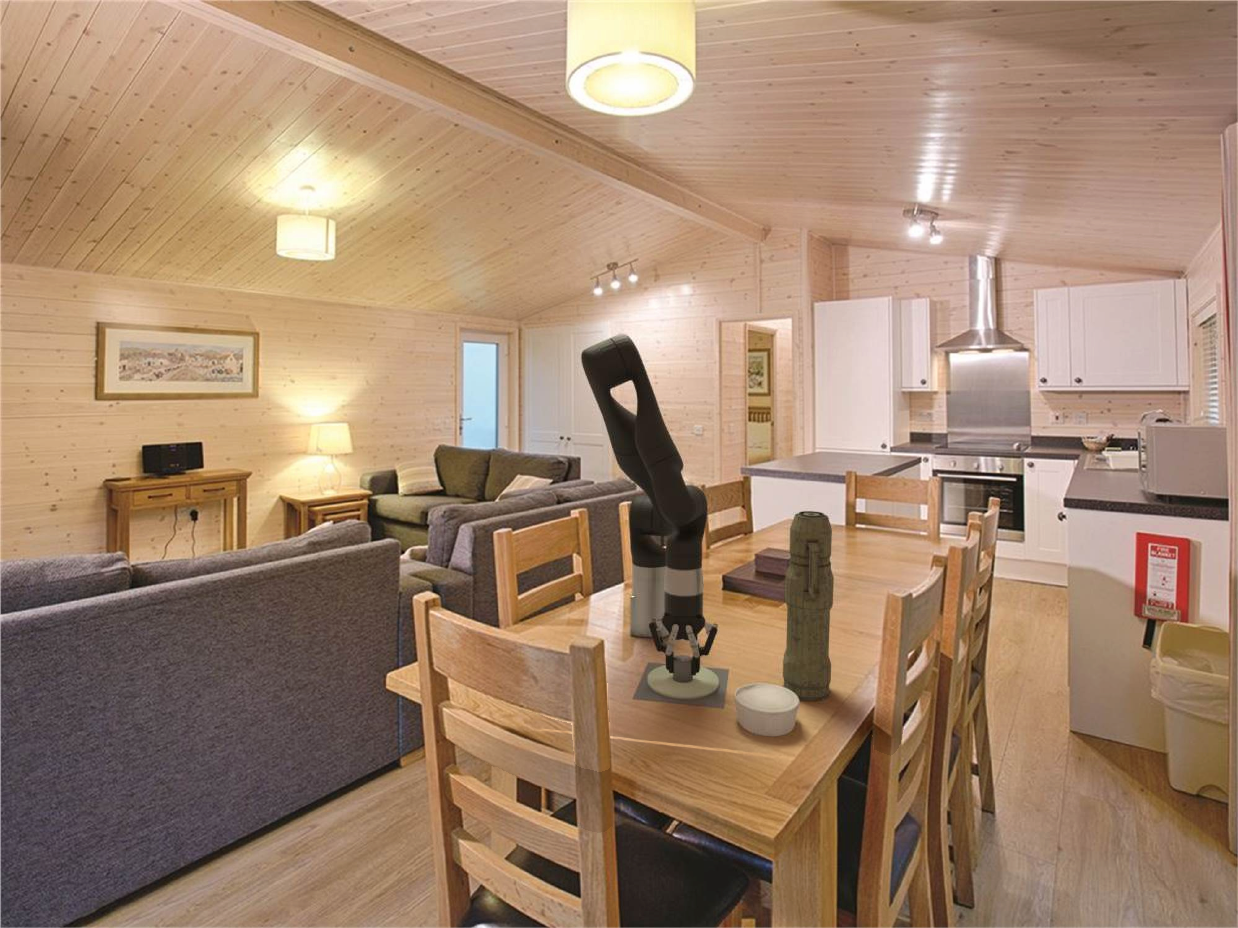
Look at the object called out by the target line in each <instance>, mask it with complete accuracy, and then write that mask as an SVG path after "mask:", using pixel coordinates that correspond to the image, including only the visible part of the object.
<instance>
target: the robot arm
mask: <svg viewBox="0 0 1238 928" xmlns="http://www.w3.org/2000/svg"><path fill="white" fill-rule="evenodd" d="M580 358H581V359H580V360H581V365H582V368H583V372H584V374H585V377H586V379H587V382H588V385H589V387H590V389H591V391H592V394H593V396H594V398H595V401H596V403H597V407H598V409H599V411H600V413H601V415H602V418H603V421H604V425H605V428H606V431H607V435H608V438H609V441H610V445H611V448H612V451H613V454H614V457H615V460H616V463H617V465H618V466H619V468H620V470H621V471H622V472H623V473H624V474H625V475H626V476H627V477H628V478H629V480H631V481H632V482H633V483H634V484H636V486H638V487H639V488H640V489H641V490H642V491H643V492H644V493H645V494H646V495H637V496H635V497H634V498H633V499H632V501H631V503H630V506H629V511H628V523H629V524H628V526H629V544H630V545H629V547H630V553H631V554H630V555H631V557H632V558H631V562H632V564H631V569H632V570H631V572H632V573H631V575H632V576H631V585H632V586H631V587H632V589H631V590H632V591H631V592H632V593H631V594H630V597H629V599H630V600H629V602H630V604H629V607H630V608H629V609H630V610H629V611H630V612H629V615H630V616H629V618H630V620H629V621H630V623H629V627H630V628H629V630H630V631H629V633H630V635H631V636H636V637H638V638H642V639H651V640H652V639H653V642H654V645H655V649H656V651H657V652H662V653H664V655H665V664H666V669H667V670H669V673H673V658H674V657H675V651H674V648H675V644H676V641H677V640H678V641H680V640H683V641H688V642H689V645H690V648H691V650H692V654H693V655H692V656H691V657H692V675H695V676H696V673H699V671H700V666H701V657H703V656H706V657H707V656H709V655H710V651H711V650H712V646H713V644H714V641H715V638H716V636H717V633H718V629H719V625H718V623H710V622H707V621H706V618H705V617H704V585H705V584H704V574H703V573H704V572H703V540H704V536H705V530H706V524H707V519H708V509H709V508H708V501H707V497H706V495H705V492H703V490H702V489H701V488H700V487H698V486H696V485H692V484H687V485H686V482H685V480H684V477H683V474H682V471H683V469H684V462H683V459H682V456H681V454H680V452H679V450H678V448H677V446H676V444H675V442H674V439H673V438H672V436H671V435H670V432H669V429H668V427H667V425H666V423H665V421H664V418H663V416H662V413H661V409H660V406H659V404H658V400H657V397H656V394H655V392H654V389H653V386H652V383H651V381H650V379H649V375H648V373H647V369H646V366H645V365H644V362H643V359H642V357H641V354H640V352H639V349H638V348H637V346H636V344H635V343H634V341H633V340H632V338H631V337H630V336H629V335H627V333H620V334H616V335H614V336H612V337H610V338H607V339H605V340H604V339H603V340H601V341H599V342H598V343H596V344H593V345H590V346H588V347H586V348H585V349H583V350H582V352H581V356H580ZM630 381H631V382H632V383H633V386H634V390H635V394H636V401H637V402H636V413H634V412H631V411H630V410H628V409H627V408H626V407H625V406H623V405H622V404H620V402H618V401H617V400H616V398H614V397H613V395H612V393H611V390H612V389H614V388H617V387H618V386H621V385H623V384H626V383H627V382H630ZM651 536H654V537H668V538H667V540H666V544H665V547H663V546H661V545H660V544H659V543H657V542H656V541H655V540H654V539H653V538H652V537H651ZM703 629H705V635H707V637H706V640H705V643H704V646H700V645H701V644H700V641H699V634H700V633H701V632H702V630H703ZM665 637H669V639H668V642H667V643H665V641H664V639H663V638H665Z"/></svg>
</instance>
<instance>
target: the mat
mask: <svg viewBox="0 0 1238 928" xmlns="http://www.w3.org/2000/svg"><path fill="white" fill-rule="evenodd" d="M664 665H666V663H662V662H661V663H660V662H650V661H648V662H647V665H646V666H645V668H644V671H643V673H642V676H641V678H640V680H639V683H638V685H637V687H636V688H635V689H636V690H635V691H634V694H633V696H632V700H637V701H648V702H657V703H666V704H667V703H668V704H678V705H685V706H686V705H687V706H699V707H706V708H707V707H708V708H718V709H719V708H720V709H724V708H725V703H726V702H725V701H726V696H727V695H726V694H727V687H728V686H727V685H728V678H729V672H730V671H729V668H718V667H710V666H709V667H707V666H703V667H704V668H706V669H709V670H711V671H712V672H714V673H715V674H716V675H717V677H718V679H719V687H718V689H717V691H716V692H715V693H713V694H712V695H710V696H707V697H704V698H700V699H694V700H678V699H672V698H667V697H664V696H661V695H659V694H657V693H655V692H653V691H652V690H651V689H650V688H649V686H648V675H649V673H650V672H651V671H652V670H654V669H655V668H658V667H660V666H664Z"/></svg>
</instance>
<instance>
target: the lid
mask: <svg viewBox="0 0 1238 928" xmlns="http://www.w3.org/2000/svg"><path fill="white" fill-rule="evenodd" d="M692 657H693V656H690V655H687V654H679V655H674V658H673V673H669V670H667V669H666V665H664V666H660V667H658V668H655V669H654V670H652V671H651V672H650V673H649V675H648V686H649V688H650V689H651V690H652V691H653V692H655V693H657V694H659V695H661V696H664V697H667V698H672V699H678V700H694V699H700V698H704V697H707V696H710V695H712V694H713V693H715V692H716V691H717V689H718V687H719V679H718V677H717V675H716V674H715V673H714V672H712V671H711V670H709V669H706V668H704V667H705V666H701V665H700V671H699V673H696V676H695V675H692Z"/></svg>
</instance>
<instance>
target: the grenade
mask: <svg viewBox="0 0 1238 928" xmlns="http://www.w3.org/2000/svg"><path fill="white" fill-rule="evenodd" d="M791 521H792V522H791V524H790V528H789V554H790V558H789V561H788V562H789V563H788V567H787V570H786V573H785V583H784V584H785V586H784V587H785V589H784V590H785V591H784V592H785V593H784V601H785V603H786V606H787V610H786V646H785V648H786V649H785V651H784V653H783V659H782V677H783V686H782V687H784V688H787V689H789V690H791V691H792V692H794V693H795V694H796V695H797V696H798V698H799V701H806V702H819V701H820V700H821V701H823V699H824V700H826V699H828V698H829V696H830V691H831V690H830V684H831V681H832V680H831V679H832V663H831V660H830V655H829V652H830V623H831V619H830V618H831V610H832V608H833V605H834V581H835V579H834V574H833V571H832V562H831V556H832V542H833V541H832V540H833V539H832V538H833V537H832V535H833V528H832V525H831V522H830V518H829V516H828V515H827V514H825V513H824V512H820V511H813V510H812V511H811V510H810V511H809V510H805V511H804V510H802V511H799V512H797V513H795V514H794V516H793V519H792V520H791Z"/></svg>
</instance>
